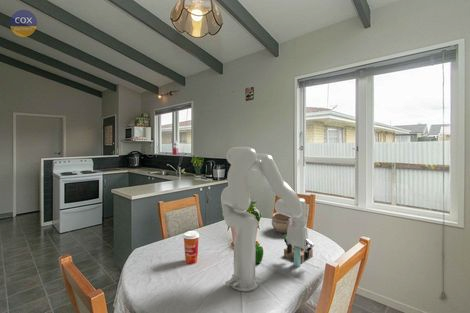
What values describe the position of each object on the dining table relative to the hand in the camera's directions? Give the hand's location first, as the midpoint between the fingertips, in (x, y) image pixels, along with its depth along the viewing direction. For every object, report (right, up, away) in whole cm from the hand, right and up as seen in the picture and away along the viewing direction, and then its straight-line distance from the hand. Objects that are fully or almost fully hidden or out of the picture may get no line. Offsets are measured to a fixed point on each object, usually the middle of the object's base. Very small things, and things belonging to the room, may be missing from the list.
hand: (297, 255), depth 122 cm
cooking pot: (+3, -3, +46) cm, 46 cm away
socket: (+3, -4, +10) cm, 11 cm away
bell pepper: (-21, -5, +4) cm, 22 cm away
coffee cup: (-55, -5, +4) cm, 55 cm away
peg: (0, -5, 0) cm, 5 cm away
